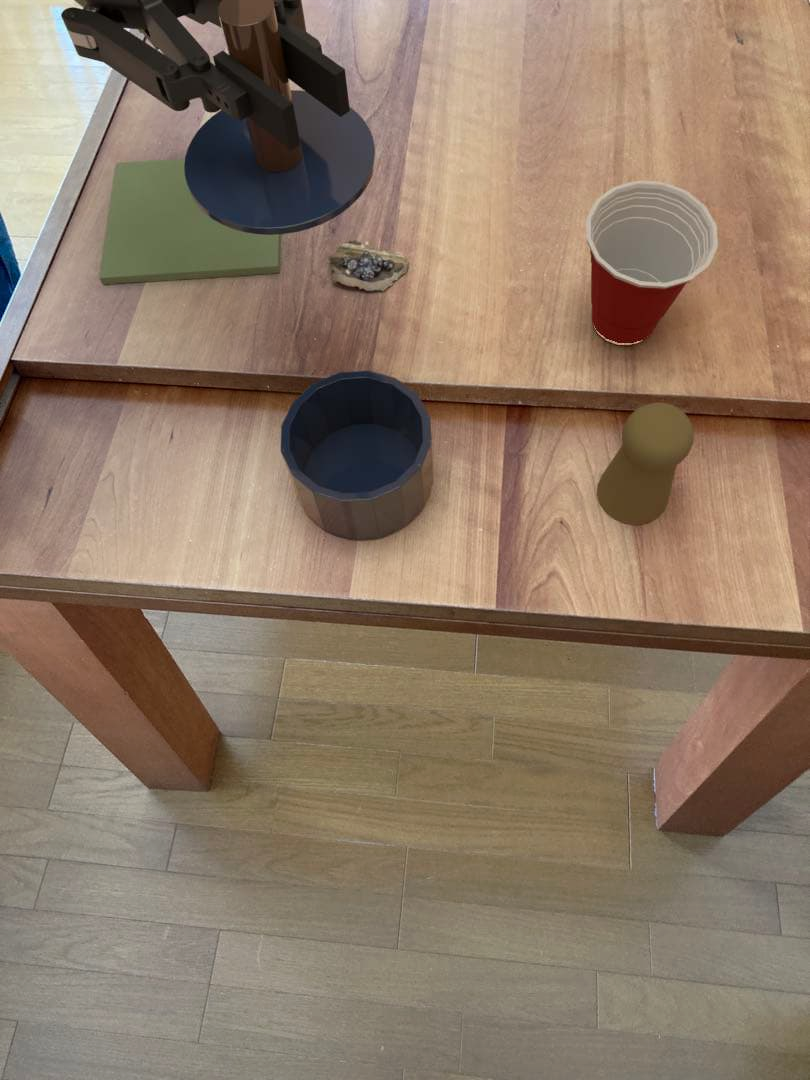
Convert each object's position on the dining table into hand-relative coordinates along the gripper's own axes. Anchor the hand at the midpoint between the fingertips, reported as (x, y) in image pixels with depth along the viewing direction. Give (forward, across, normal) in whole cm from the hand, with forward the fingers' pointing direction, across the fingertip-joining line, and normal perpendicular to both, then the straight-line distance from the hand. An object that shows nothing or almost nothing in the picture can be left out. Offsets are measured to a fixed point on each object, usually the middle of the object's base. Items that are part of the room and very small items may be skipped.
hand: (316, 110), depth 48 cm
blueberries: (-12, -11, -30) cm, 35 cm away
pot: (+6, +5, -30) cm, 31 cm away
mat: (-30, -2, -30) cm, 42 cm away
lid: (-5, 0, -7) cm, 9 cm away
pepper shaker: (+23, -10, -30) cm, 40 cm away
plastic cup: (+11, -24, -30) cm, 40 cm away
